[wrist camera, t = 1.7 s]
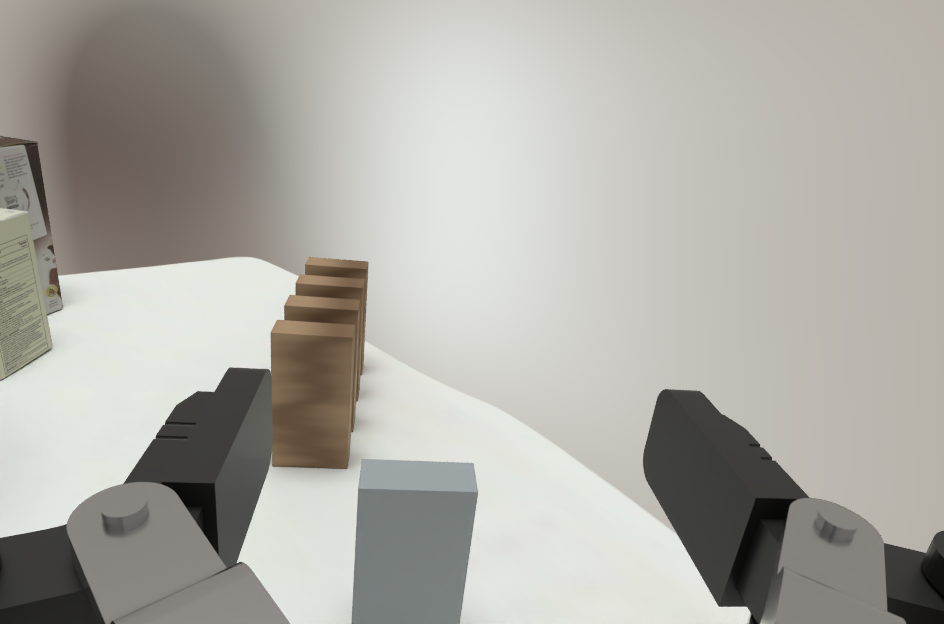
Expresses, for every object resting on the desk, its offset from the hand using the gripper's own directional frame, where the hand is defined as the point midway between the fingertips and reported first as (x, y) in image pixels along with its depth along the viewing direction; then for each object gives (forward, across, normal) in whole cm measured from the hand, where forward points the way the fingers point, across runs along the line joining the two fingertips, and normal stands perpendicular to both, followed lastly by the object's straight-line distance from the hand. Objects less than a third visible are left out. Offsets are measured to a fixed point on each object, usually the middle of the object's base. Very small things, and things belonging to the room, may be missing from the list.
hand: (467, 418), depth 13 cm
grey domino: (+11, 0, +20) cm, 23 cm away
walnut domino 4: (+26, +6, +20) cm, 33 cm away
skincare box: (+37, +33, +20) cm, 54 cm away
